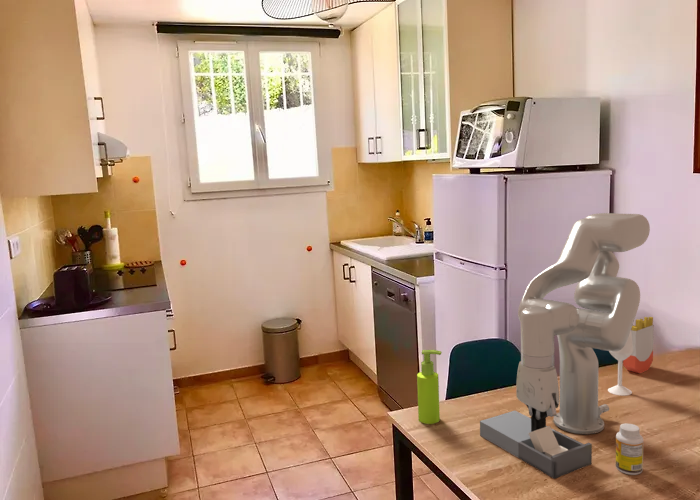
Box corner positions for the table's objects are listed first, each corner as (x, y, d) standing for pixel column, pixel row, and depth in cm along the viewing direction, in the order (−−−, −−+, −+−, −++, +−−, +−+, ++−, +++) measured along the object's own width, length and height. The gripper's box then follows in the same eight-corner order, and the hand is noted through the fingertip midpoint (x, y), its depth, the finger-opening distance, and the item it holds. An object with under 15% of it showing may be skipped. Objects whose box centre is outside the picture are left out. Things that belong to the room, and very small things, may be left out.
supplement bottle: (619, 461, 133) (620, 419, 132) (645, 468, 130) (646, 425, 128) (612, 471, 129) (612, 428, 128) (639, 478, 126) (640, 434, 124)
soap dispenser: (442, 424, 157) (440, 354, 154) (417, 423, 158) (415, 353, 155) (443, 415, 162) (441, 347, 160) (419, 414, 164) (417, 347, 161)
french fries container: (621, 371, 189) (622, 319, 187) (639, 364, 195) (640, 313, 193) (635, 375, 185) (636, 321, 183) (653, 367, 191) (654, 315, 189)
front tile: (577, 454, 131) (577, 464, 131) (560, 445, 136) (560, 455, 136) (561, 460, 129) (561, 470, 129) (544, 451, 133) (545, 461, 134)
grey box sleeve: (514, 424, 155) (514, 410, 154) (554, 445, 142) (554, 430, 142) (480, 435, 149) (479, 421, 149) (518, 458, 137) (518, 442, 136)
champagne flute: (607, 394, 172) (609, 316, 168) (607, 386, 178) (608, 310, 175) (632, 396, 169) (634, 317, 166) (631, 388, 175) (632, 312, 172)
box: (554, 445, 142) (554, 426, 142) (591, 464, 133) (591, 443, 132) (518, 458, 137) (518, 438, 136) (553, 478, 127) (553, 457, 127)
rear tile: (543, 428, 139) (549, 425, 137) (552, 448, 137) (559, 446, 135) (528, 433, 137) (534, 430, 135) (537, 454, 135) (543, 451, 133)
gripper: (504, 353, 141) (505, 424, 143) (548, 372, 127) (549, 449, 130) (528, 348, 144) (529, 417, 146) (573, 365, 130) (574, 440, 133)
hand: (538, 431), depth 138 cm, fingers closed
